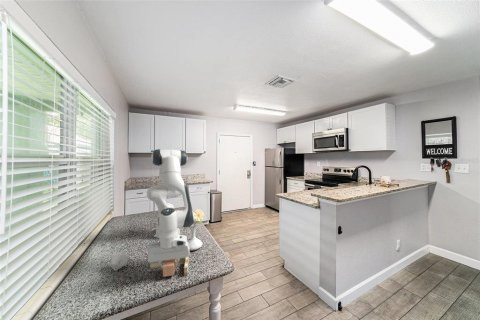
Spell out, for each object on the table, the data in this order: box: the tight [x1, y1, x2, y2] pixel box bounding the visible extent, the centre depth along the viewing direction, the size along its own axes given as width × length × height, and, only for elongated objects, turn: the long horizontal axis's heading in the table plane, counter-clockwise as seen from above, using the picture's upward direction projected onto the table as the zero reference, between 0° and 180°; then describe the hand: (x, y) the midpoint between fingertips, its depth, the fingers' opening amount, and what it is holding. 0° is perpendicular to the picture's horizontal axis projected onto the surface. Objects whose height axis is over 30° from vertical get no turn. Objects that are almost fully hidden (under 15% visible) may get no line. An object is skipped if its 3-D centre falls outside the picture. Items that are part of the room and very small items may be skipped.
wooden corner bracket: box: [149, 256, 190, 277], centre depth 93 cm, size 12×20×4 cm, turn 103°
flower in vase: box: [187, 209, 205, 251], centre depth 117 cm, size 13×11×25 cm
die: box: [108, 250, 130, 272], centre depth 98 cm, size 8×9×10 cm
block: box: [162, 259, 176, 277], centre depth 92 cm, size 5×9×5 cm, turn 13°
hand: (169, 267), depth 92 cm, fingers closed on block, 5 cm apart
